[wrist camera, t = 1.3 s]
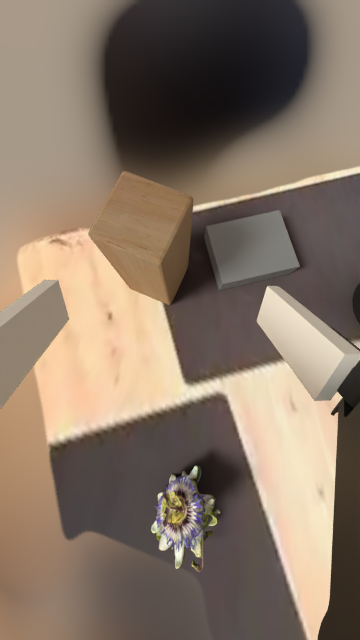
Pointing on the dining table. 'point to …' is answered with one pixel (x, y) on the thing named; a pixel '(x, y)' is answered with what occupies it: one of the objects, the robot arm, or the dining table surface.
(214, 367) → the dining table surface
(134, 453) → the dining table surface
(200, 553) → the passion flower
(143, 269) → the wooden block
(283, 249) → the plinth
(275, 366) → the dining table surface
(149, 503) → the dining table surface
